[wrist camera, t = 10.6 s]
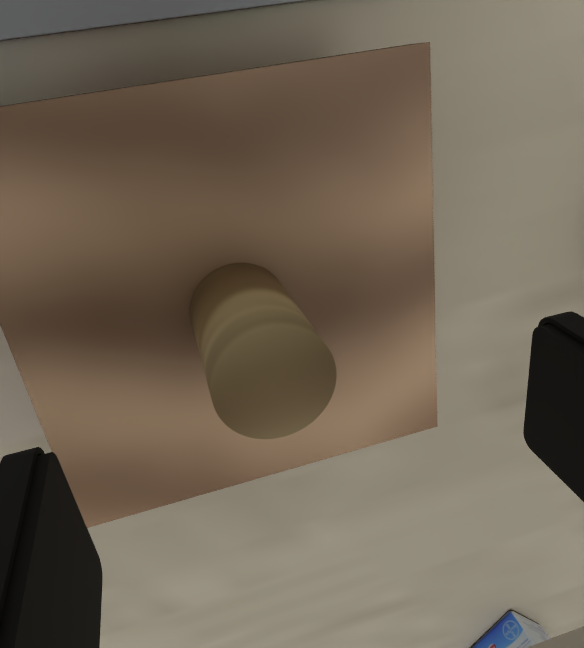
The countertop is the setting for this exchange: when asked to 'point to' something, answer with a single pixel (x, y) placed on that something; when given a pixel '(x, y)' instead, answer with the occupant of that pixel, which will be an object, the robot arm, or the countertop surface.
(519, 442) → the countertop surface
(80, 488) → the walnut lid
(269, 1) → the rubber mat
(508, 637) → the medicine box
